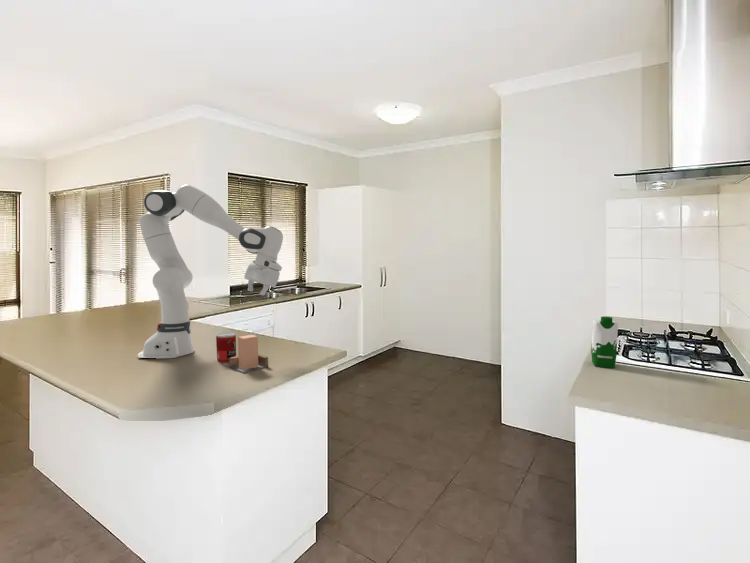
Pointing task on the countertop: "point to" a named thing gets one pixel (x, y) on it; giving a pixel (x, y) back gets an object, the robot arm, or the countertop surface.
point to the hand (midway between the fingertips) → (255, 293)
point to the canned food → (225, 346)
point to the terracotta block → (248, 351)
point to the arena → (261, 364)
